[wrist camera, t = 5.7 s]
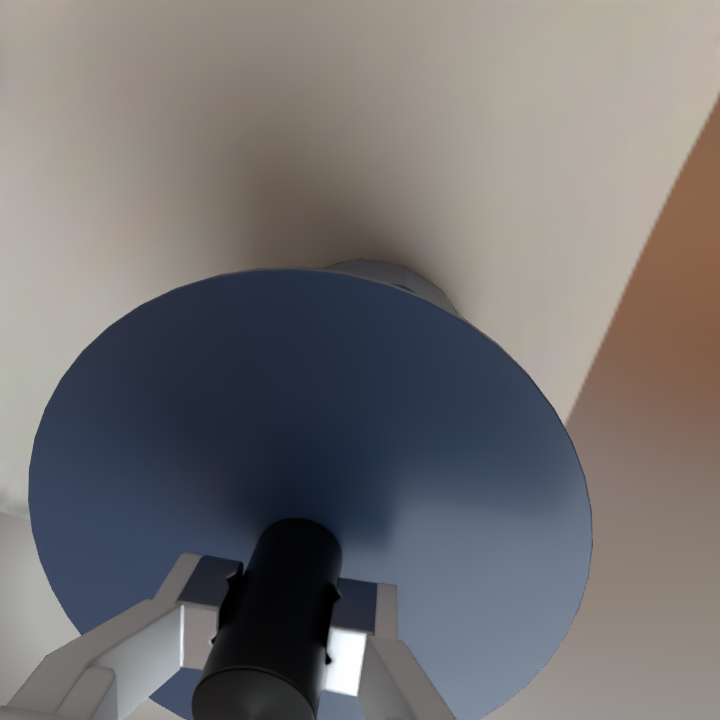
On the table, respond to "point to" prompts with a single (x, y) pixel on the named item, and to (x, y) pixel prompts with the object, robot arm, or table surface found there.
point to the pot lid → (314, 486)
